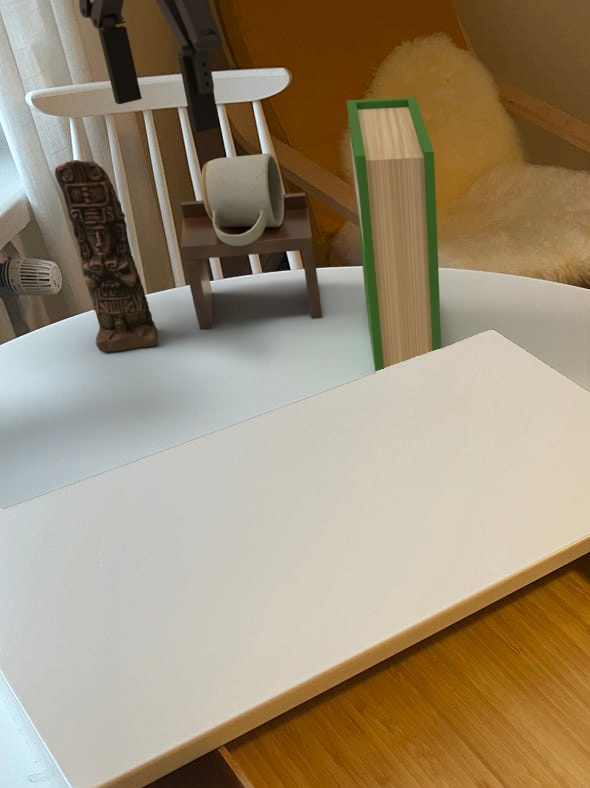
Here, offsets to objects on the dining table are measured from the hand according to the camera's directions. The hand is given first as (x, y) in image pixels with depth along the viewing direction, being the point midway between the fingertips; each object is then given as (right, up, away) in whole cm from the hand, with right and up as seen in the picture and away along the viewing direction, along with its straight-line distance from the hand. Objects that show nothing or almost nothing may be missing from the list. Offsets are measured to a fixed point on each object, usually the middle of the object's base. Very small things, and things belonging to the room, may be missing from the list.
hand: (166, 115), depth 96 cm
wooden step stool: (+4, -11, +24) cm, 26 cm away
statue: (-10, -17, +18) cm, 27 cm away
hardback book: (+23, -19, +16) cm, 34 cm away
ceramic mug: (+5, -5, +16) cm, 17 cm away
